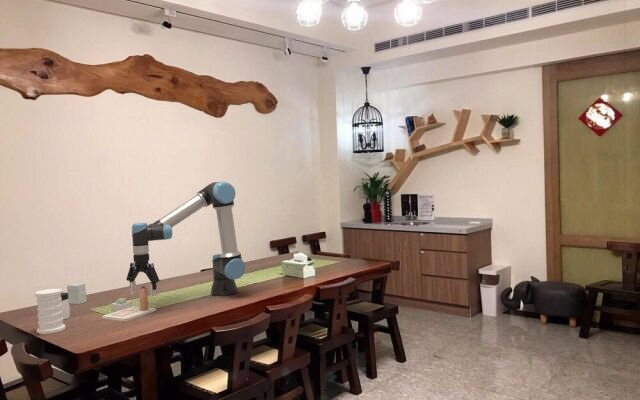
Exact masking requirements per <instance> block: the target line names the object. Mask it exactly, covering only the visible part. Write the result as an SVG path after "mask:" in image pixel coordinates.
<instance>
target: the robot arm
mask: <svg viewBox="0 0 640 400" xmlns="http://www.w3.org/2000/svg"><path fill="white" fill-rule="evenodd" d="M235 198H236V189H235V187H234V186H233V185H232V184H231V183H229V182H227V181H215V182H211V183H208V185H206V186H205V187H203V188H202V189H200V190H199V191H198V192H196V195H195V196H193V197H191V198H190V199H189V200H187V201H186V202H184V203H182V204H181V205H179V206H177V207H176V208H174V209H173V210H171V211H169V213H167V214H165V215H164V216H162V217H161V218H159V219H158V220H156V221H155V222H153V223H149V224H148V223H147V222H136V223H133V224H132V225H131V237H132V254H133V257H132V258H133V262H130V263H129V270H128V273H127V275H126V279H125V280H126V281H127V282H129V288H130V295H131V296H133V295H136V294H137V284H136V283H137V282H136V278H137V277H138V275H139V273H144V274H145V276H146V277H147V278H148V280H149V281H150V284H149V285H150V286H149V287H150V297H152V298H153V297H156V296H157V283H159V282H160V278H159V276H158V274H157V273H158V272H157V271H156V269H155V265H154V262H152V263H149V261H150V254H149V253H150V252H149V251H150V249H149V242H154V241H163V240H164V241H165V240H170V239H172V237H173V227H175V226H177V225H178V224H180V223H182V222H183V221H185V220H186V219H187V218H189V217H190V216H191V215H194V214H195V213H197V212H198V211H199V210H201V209H203V208H204V207H205V208H208V206H211V205H212V208H213V209H214V210H215V212H216V217H217V226H218V233H219V241H220V247H221V253H219V254H213V255H212V260H211V262H212V272H213V274H212V275H213V276H212V277H213V282H212V285H211V289H210V294H211V295H212V296H217V297H220V296H221V297H224V296H225V297H226V296H231V294H232V295H235V294H237V293H238V292H239V291H238V287H237V284H236V280H238V279H241V277H243V276H244V274H245V272H246V269H247V268H246V267H247V266H246V263H245V262H244V260H243V257H242V253H241V252H240V251H239V250H238V244H237V236H236V229H235V223H234V215H233V207H234V206H235V201H234V200H235Z"/></svg>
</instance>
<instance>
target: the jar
mask: <svg viewBox="0 0 640 400" xmlns="http://www.w3.org/2000/svg"><path fill="white" fill-rule="evenodd" d="M61 298H62V300H61V303H62V311H63V313H62V317H63V320H66V319H69V318H70V316H71V312H70V310H71V309H70V304H69V296H68V293H67V292H62V293H61Z"/></svg>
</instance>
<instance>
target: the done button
mask: <svg viewBox="0 0 640 400" xmlns="http://www.w3.org/2000/svg"><path fill="white" fill-rule="evenodd" d="M126 301H127V300H126V297H119V298H117V299H116V302H117V304H123V303H126Z"/></svg>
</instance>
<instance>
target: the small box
mask: <svg viewBox="0 0 640 400" xmlns="http://www.w3.org/2000/svg"><path fill="white" fill-rule="evenodd" d="M66 288H67V289H66V290H67V292H66V293H68V296H69V303H70V304H71V305H80V304H83V303H86V302H87V290H86V283H81V282H80V283H79V282H78V283H76V282H75V283H70V284H67V285H66ZM70 304H69V305H70Z"/></svg>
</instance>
